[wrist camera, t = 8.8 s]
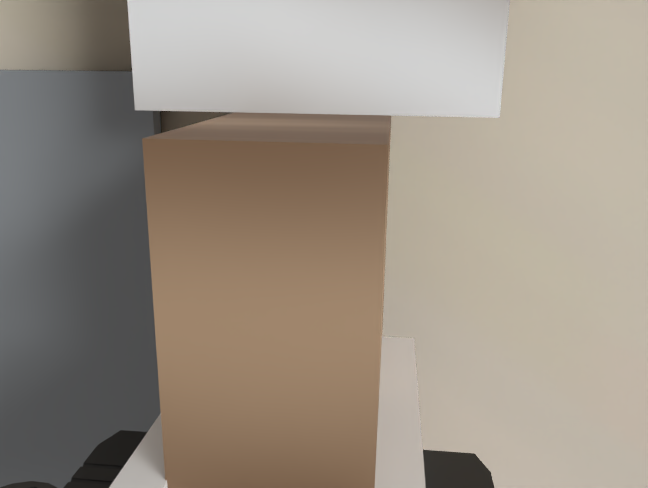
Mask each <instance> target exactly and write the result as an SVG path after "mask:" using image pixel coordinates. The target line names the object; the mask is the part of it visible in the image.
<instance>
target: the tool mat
mask: <svg viewBox="0 0 648 488" xmlns="http://www.w3.org/2000/svg"><path fill="white" fill-rule="evenodd" d="M160 133H161V119H160V111H147V110H135V103H134V89H133V75H132V71H52V70H0V487H3V486H6V485H9V484H12V483H20V482H27V481H36V482H45V483H50V484H51V485H53V486H55V487H57V488H64V486H65V485H66V484H67V483H68V482H71V478H72V476H73V475H74V474H75V473H76V471H77V470H78V469H79V468H80V466H82V467H83V463H84V461H85V460H86V459H87V458H88V456H89V455H90V454H91V453H92V451H93V450H94V449H95V448H96V447H97V445H98V444H100V443H101V442H103V441H105V440H106V439H108V438H109V437H111V436H112V435H114V434H115V433H117V432H119V431H120V430H127V431H141V432H148V431H149V429H150V428H151V426H152V425H153V423H154V422H155V421H156V419H157V418H158V416H159V415H160V413H161V410H160V395H159V381H158V366H157V351H156V336H155V322H154V307H153V292H152V277H151V262H150V248H149V233H148V218H147V203H146V189H145V174H144V159H143V144H142V138H146V137H149V136H153V135H156V134H160Z"/></svg>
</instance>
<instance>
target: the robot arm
mask: <svg viewBox="0 0 648 488" xmlns="http://www.w3.org/2000/svg"><path fill="white" fill-rule="evenodd" d="M0 488H57V487H55V486H53V485H51V484H50V483H45V482H36V481H27V482H20V483H12V484H9V485H6V486H3V487H0ZM64 488H168V487H167V480H165V469H164V454H163V440H162V425H161V413H160V415H159V416H158V418H157V419H156V421H155V422H154V423H153V425H152V426H151V428H150V429H149V431H148V432H141V431H127V430H120V431H119V432H117V433H115V434H114V435H112V436H111V437H109V438H108V439H106V440H105V441H103V442H101V443H100V444H98V445H97V447H96V448H95V449H94V450H93V451H92V453H91V454H90V455H89V456H88V458H87V459H86V460H85V461H84V463H83V467H82V466H80V468H79V469H78V470H77V471H76V473H75V474H74V475H73V476H72V478H71V482H68V483H67V484H66V485H65V486H64ZM375 488H494V485H493V480H492V476H491V472H490V471H489V470H488V469H487V468H486V466H485V465H484V464H483V463H482V462H481V461H480V460H479V458H478V457H477V456H476V455H475V454H472V453H458V452H445V451H431V450H423V446H422V433H421V419H420V406H419V393H418V379H417V366H416V353H415V339H414V338H406V337H387V336H382V346H381V367H380V387H379V408H378V428H377V448H376V469H375Z"/></svg>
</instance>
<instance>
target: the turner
mask: <svg viewBox="0 0 648 488" xmlns="http://www.w3.org/2000/svg"><path fill="white" fill-rule="evenodd" d="M127 3H128V18H129V32H130V46H131V61H132V75H133V89H134V103H135V110H147V111H195V112H234V113H231V114H227V115H223V116H220V117H216V118H213V119H209V120H206V121H202V122H199V123H195V124H192V125H188V126H185V127H181V128H177V129H174V130H170V131H167V132H163V133H160V134H156V135H153V136H149V137H146V138H142V144H143V159H144V174H145V189H146V203H147V218H148V233H149V248H150V262H151V277H152V292H153V307H154V322H155V336H156V351H157V366H158V381H159V395H160V410H161V425H162V440H163V454H164V469H165V480H167V487H168V488H375V469H376V448H377V428H378V408H379V387H380V367H381V346H382V325H383V301H384V277H385V252H386V228H387V203H388V179H389V155H390V130H391V116H439V117H488V118H500V107H501V96H502V85H503V73H504V62H505V51H506V39H507V28H508V17H509V5H510V0H127Z"/></svg>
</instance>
